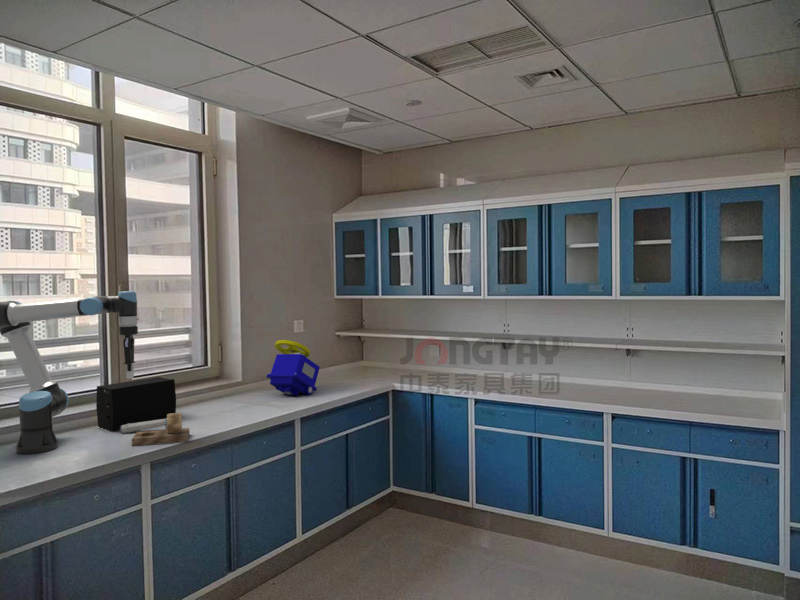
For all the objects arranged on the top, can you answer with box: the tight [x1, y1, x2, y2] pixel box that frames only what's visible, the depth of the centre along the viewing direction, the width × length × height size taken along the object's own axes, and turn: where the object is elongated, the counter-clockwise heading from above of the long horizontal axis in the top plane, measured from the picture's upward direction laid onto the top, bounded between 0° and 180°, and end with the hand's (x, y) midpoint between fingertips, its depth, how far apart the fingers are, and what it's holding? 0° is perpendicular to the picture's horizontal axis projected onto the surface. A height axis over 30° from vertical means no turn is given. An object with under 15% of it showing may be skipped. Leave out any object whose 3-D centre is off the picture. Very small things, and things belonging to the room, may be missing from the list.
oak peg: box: [167, 412, 183, 434], centre depth 260 cm, size 6×6×11 cm
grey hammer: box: [119, 418, 167, 434], centre depth 276 cm, size 5×7×25 cm
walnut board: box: [131, 427, 191, 447], centre depth 259 cm, size 22×12×3 cm, turn 104°
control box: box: [266, 339, 321, 397], centre depth 361 cm, size 26×27×30 cm
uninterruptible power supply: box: [95, 376, 177, 433], centre depth 291 cm, size 16×34×20 cm, turn 142°
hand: (130, 378), depth 266 cm, fingers closed
